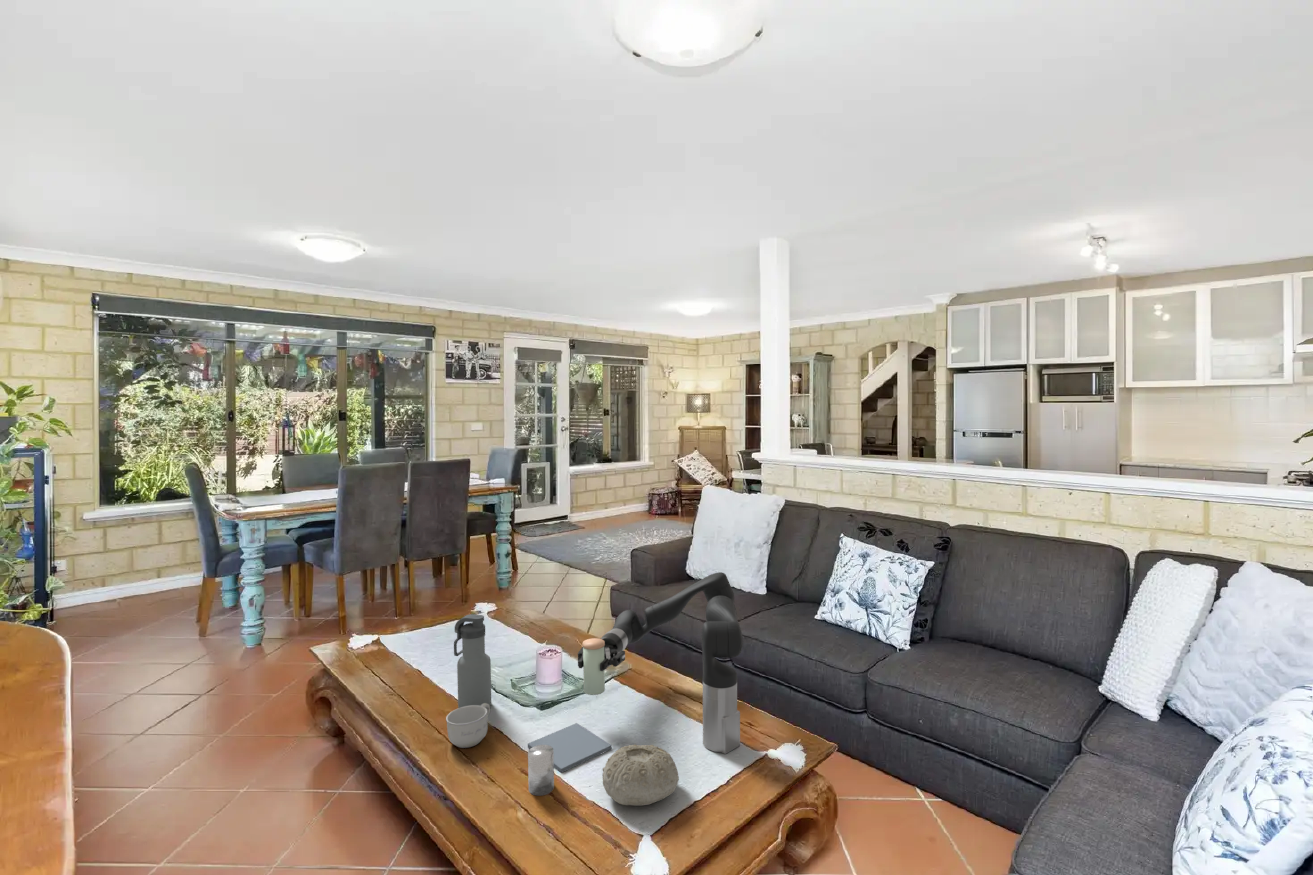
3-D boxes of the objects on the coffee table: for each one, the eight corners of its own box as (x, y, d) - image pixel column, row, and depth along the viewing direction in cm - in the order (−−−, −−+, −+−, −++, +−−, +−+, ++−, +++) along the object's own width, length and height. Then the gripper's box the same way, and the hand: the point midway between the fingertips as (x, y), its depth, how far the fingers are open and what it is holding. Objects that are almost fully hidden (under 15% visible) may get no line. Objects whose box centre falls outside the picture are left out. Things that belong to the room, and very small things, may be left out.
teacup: (462, 757, 164) (462, 727, 163) (438, 744, 170) (437, 715, 170) (505, 734, 175) (504, 706, 174) (480, 723, 181) (480, 696, 181)
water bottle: (450, 712, 188) (448, 620, 186) (467, 697, 197) (465, 610, 196) (481, 716, 185) (479, 623, 184) (497, 701, 195) (495, 612, 193)
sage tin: (609, 689, 180) (609, 642, 180) (593, 697, 176) (592, 648, 175) (595, 683, 185) (594, 636, 184) (578, 690, 180) (577, 642, 179)
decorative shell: (637, 763, 160) (637, 725, 160) (693, 790, 149) (693, 749, 149) (587, 797, 147) (586, 756, 146) (645, 829, 135) (644, 784, 135)
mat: (611, 748, 167) (611, 745, 167) (561, 772, 157) (561, 768, 156) (576, 726, 179) (576, 722, 179) (527, 747, 168) (527, 743, 168)
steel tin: (558, 788, 150) (558, 751, 150) (537, 799, 146) (536, 761, 146) (545, 777, 155) (544, 741, 154) (523, 787, 151) (523, 751, 150)
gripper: (634, 659, 191) (614, 682, 175) (590, 653, 196) (567, 676, 180) (634, 634, 191) (613, 656, 175) (590, 630, 195) (566, 650, 179)
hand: (590, 666), depth 177 cm, fingers closed on sage tin, 6 cm apart
